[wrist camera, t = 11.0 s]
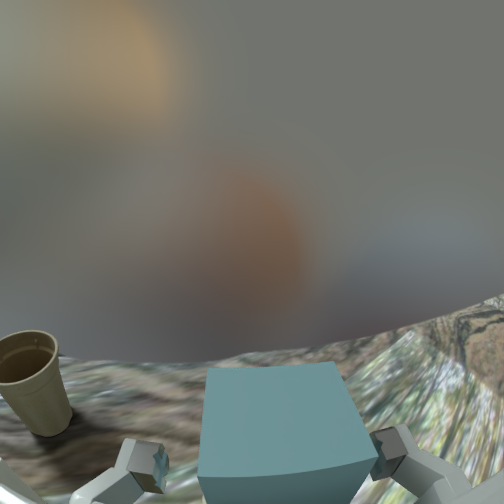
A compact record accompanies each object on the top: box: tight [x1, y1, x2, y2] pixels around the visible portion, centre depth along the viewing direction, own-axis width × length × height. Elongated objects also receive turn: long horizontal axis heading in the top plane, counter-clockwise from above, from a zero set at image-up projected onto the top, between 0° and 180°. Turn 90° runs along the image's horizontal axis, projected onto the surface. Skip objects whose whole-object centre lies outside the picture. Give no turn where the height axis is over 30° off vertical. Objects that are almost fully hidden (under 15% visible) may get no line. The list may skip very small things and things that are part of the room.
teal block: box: [197, 361, 379, 504], centre depth 9 cm, size 4×4×10 cm
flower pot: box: [0, 330, 72, 437], centre depth 19 cm, size 9×9×9 cm
